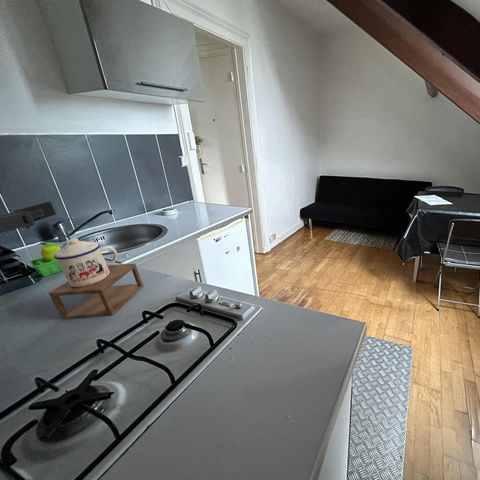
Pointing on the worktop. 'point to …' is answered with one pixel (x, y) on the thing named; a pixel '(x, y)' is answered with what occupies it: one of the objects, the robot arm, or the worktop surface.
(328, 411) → the worktop surface
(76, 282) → the teacup with lid
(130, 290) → the rack
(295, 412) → the worktop surface
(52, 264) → the fruit basket
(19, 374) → the worktop surface
